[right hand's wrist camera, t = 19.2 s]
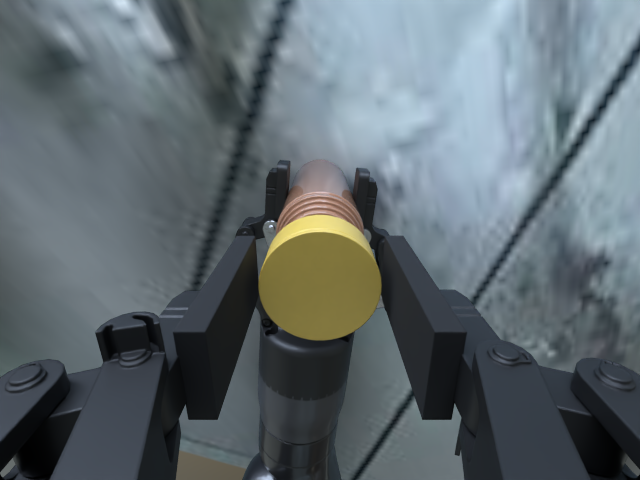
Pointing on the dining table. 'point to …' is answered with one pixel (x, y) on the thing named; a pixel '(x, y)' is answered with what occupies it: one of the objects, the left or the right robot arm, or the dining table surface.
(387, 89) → the dining table surface
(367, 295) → the cap
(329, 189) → the bottle
